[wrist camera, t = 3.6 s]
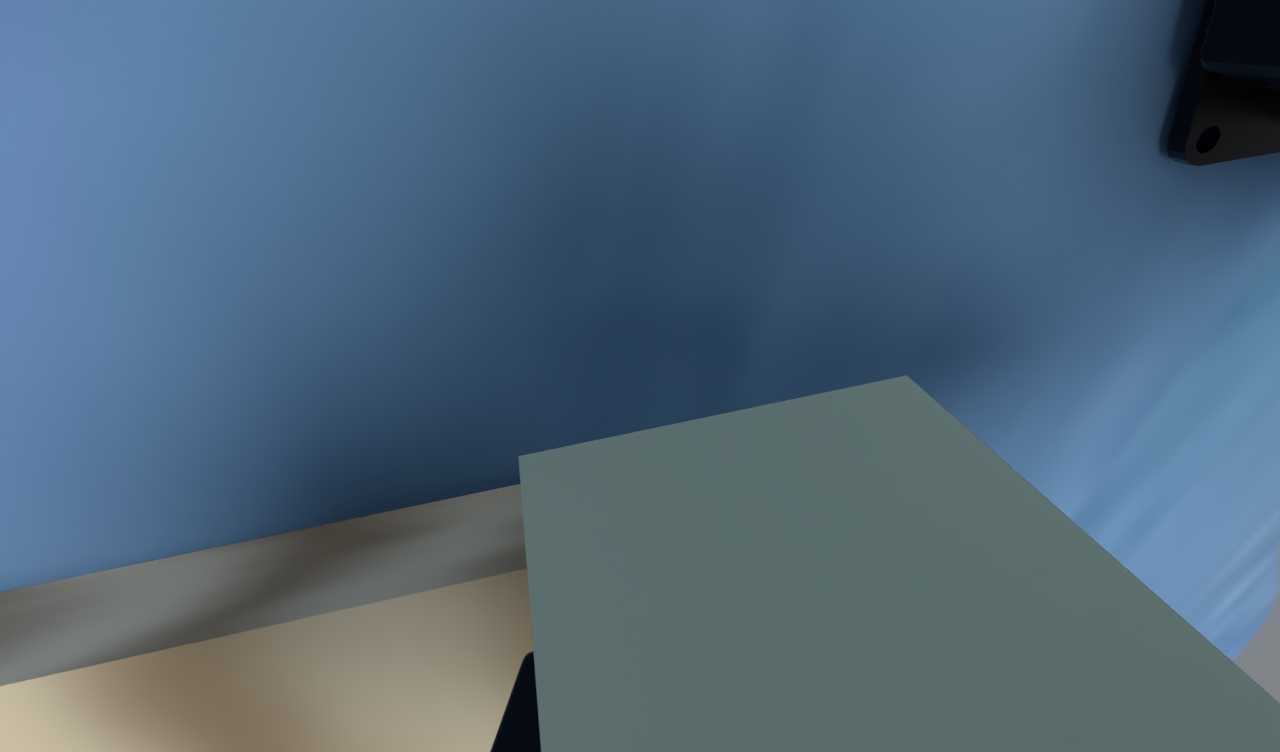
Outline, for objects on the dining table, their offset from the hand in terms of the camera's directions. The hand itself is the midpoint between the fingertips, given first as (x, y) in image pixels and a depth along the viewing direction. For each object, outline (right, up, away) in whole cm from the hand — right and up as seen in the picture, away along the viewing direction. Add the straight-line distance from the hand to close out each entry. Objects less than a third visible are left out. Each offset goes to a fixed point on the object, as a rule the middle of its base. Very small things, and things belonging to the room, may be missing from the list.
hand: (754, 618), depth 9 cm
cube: (0, +1, +1) cm, 1 cm away
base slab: (-9, -5, +9) cm, 14 cm away
